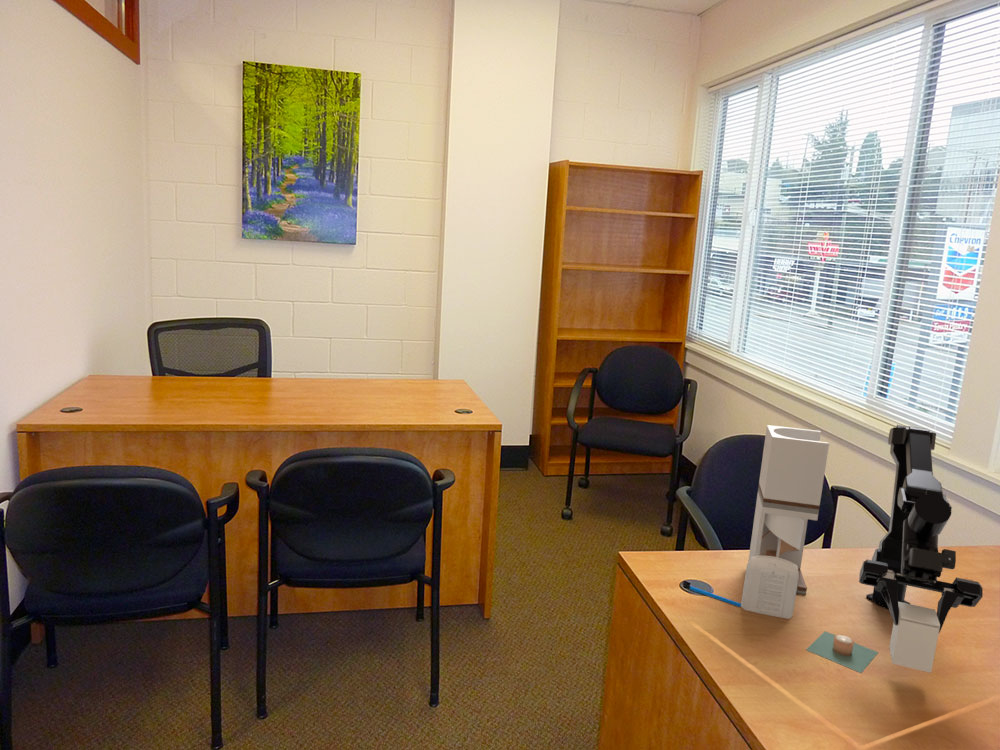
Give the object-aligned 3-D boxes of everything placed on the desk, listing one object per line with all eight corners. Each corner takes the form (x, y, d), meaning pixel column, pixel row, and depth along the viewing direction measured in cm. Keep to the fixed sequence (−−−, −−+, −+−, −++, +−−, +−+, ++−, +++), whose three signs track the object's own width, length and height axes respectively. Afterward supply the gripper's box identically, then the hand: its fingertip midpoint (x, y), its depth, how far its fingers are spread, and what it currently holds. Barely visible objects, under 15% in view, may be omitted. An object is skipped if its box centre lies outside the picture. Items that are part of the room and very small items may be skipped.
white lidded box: (889, 646, 136) (897, 601, 135) (926, 655, 134) (935, 609, 132) (892, 663, 131) (900, 616, 129) (931, 672, 129) (940, 625, 127)
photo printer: (791, 613, 156) (800, 558, 154) (793, 623, 152) (801, 566, 150) (740, 603, 159) (747, 548, 157) (740, 612, 155) (748, 557, 153)
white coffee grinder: (751, 587, 166) (772, 436, 160) (747, 567, 177) (766, 424, 170) (805, 596, 164) (829, 443, 157) (798, 575, 174) (820, 430, 167)
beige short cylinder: (840, 644, 144) (842, 632, 143) (855, 653, 141) (858, 642, 140) (828, 648, 142) (830, 636, 142) (843, 657, 139) (845, 645, 139)
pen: (768, 618, 154) (769, 613, 154) (681, 588, 165) (682, 583, 165) (770, 617, 155) (771, 612, 154) (683, 586, 166) (684, 582, 165)
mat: (824, 633, 149) (824, 631, 149) (877, 655, 142) (878, 652, 142) (805, 652, 141) (805, 649, 141) (860, 675, 135) (861, 672, 135)
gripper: (870, 517, 135) (864, 600, 127) (991, 539, 128) (992, 628, 120) (861, 542, 144) (855, 621, 136) (973, 564, 137) (974, 648, 129)
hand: (916, 629), depth 130 cm, fingers closed on white lidded box, 6 cm apart
